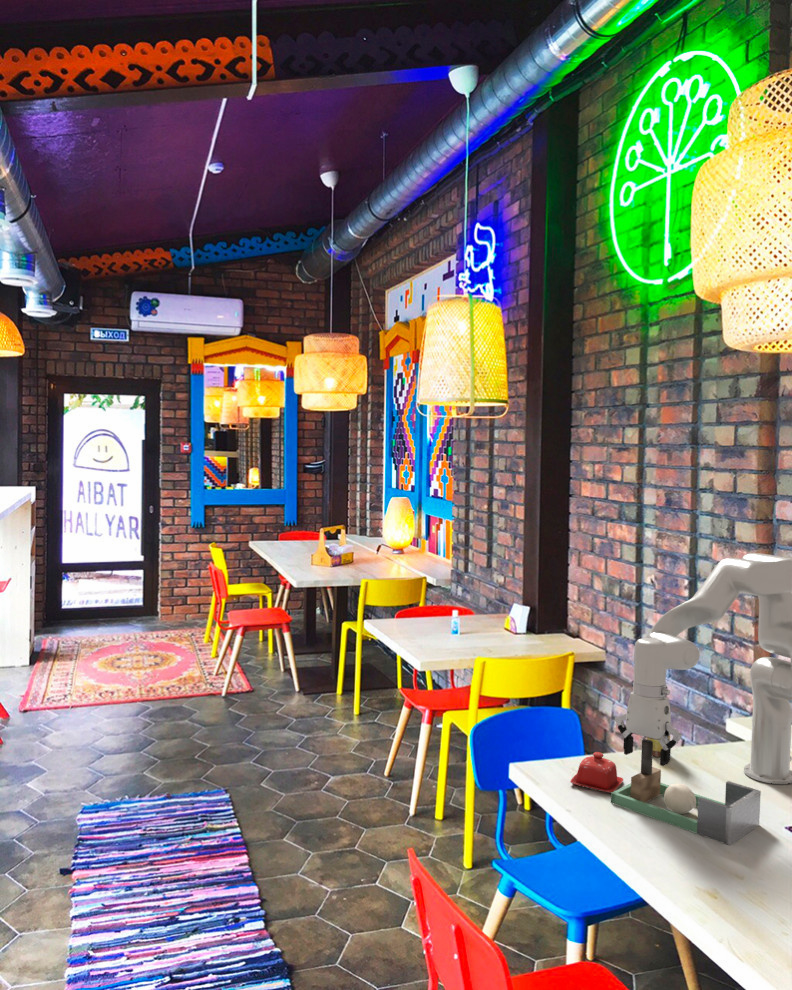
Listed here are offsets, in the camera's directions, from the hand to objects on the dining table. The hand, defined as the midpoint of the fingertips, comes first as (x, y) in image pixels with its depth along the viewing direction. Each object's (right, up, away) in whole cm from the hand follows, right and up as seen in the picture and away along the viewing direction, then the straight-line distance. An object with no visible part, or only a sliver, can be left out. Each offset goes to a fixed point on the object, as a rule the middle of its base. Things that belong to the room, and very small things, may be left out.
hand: (646, 758), depth 203 cm
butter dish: (-10, -10, +10) cm, 17 cm away
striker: (0, -10, +1) cm, 10 cm away
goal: (+15, -11, -14) cm, 23 cm away
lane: (+4, -11, -4) cm, 12 cm away
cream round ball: (+6, -11, -6) cm, 14 cm away
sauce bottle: (+13, -9, +33) cm, 37 cm away
